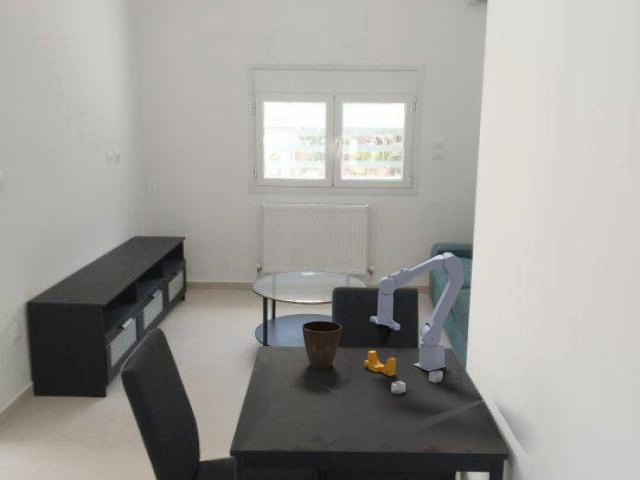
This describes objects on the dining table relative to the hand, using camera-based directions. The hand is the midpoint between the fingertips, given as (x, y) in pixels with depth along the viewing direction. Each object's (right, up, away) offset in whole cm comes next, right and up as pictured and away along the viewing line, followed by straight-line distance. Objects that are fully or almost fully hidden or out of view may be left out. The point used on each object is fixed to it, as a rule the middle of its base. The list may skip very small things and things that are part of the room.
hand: (384, 344), depth 225 cm
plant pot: (-24, -9, +1) cm, 25 cm away
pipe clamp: (-2, -10, -3) cm, 11 cm away
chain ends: (+10, -12, -16) cm, 22 cm away
